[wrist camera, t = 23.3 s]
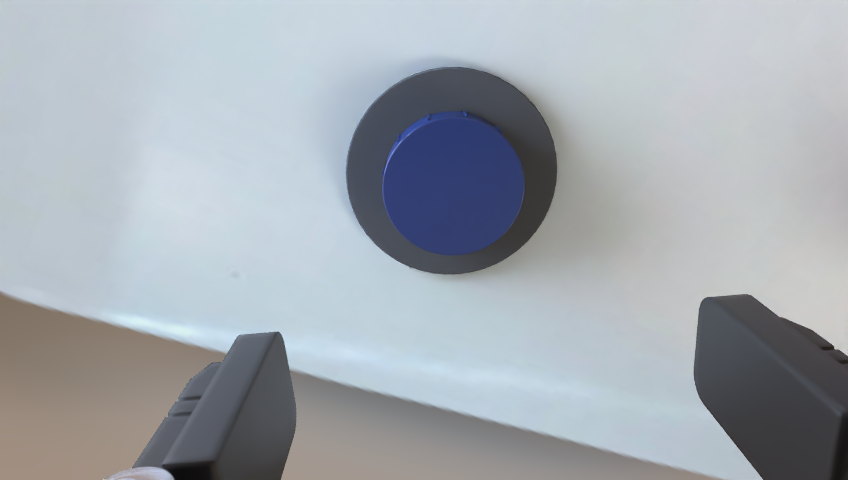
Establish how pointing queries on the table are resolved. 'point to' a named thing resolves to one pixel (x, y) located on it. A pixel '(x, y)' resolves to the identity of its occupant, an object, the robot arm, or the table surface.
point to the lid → (452, 183)
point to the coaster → (435, 96)
